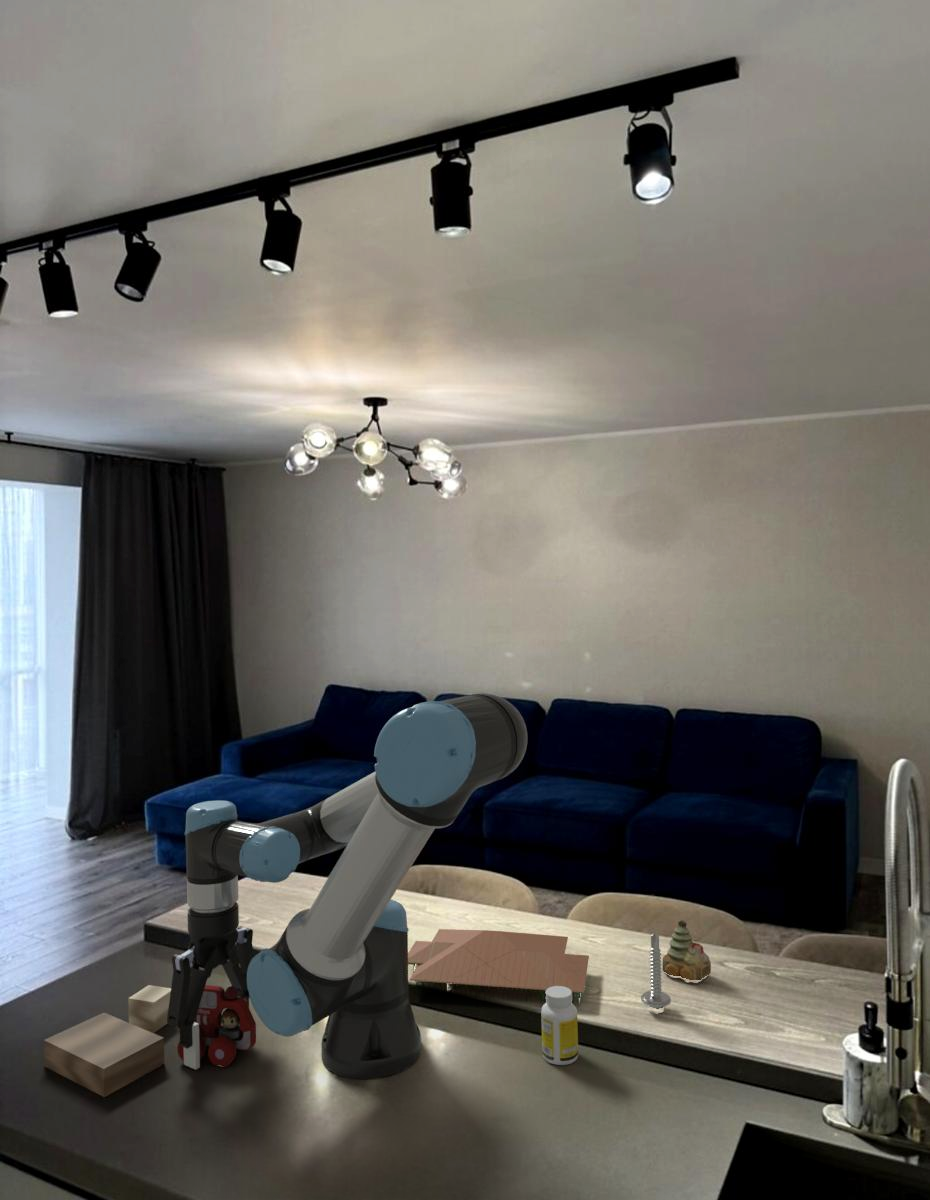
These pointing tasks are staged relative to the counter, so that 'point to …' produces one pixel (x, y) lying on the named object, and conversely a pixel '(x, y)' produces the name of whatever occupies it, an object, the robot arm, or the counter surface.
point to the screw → (655, 978)
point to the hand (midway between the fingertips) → (216, 1051)
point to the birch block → (149, 1008)
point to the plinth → (104, 1053)
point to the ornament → (686, 956)
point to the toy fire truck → (235, 1025)
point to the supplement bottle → (559, 1027)
